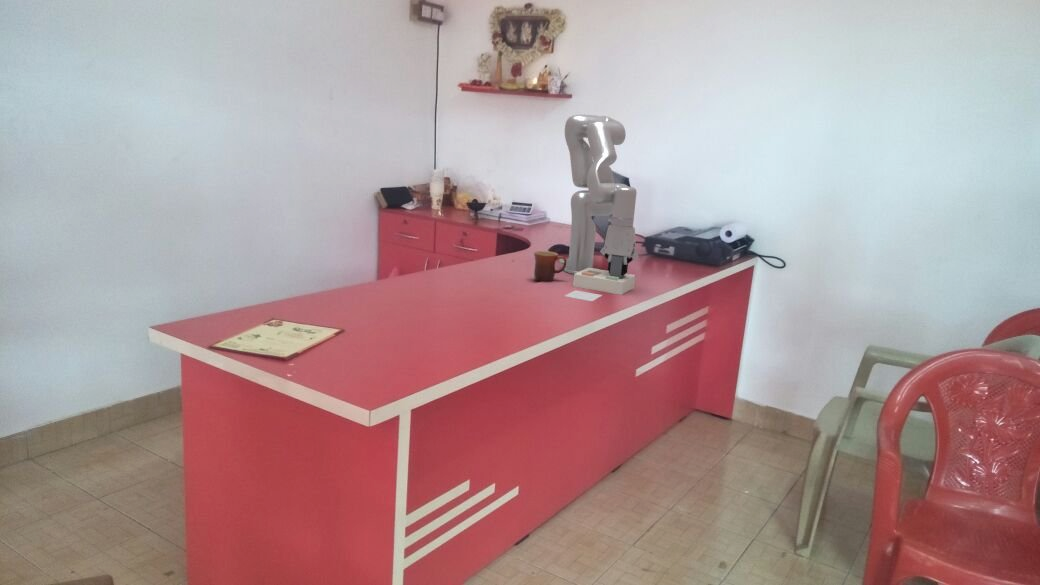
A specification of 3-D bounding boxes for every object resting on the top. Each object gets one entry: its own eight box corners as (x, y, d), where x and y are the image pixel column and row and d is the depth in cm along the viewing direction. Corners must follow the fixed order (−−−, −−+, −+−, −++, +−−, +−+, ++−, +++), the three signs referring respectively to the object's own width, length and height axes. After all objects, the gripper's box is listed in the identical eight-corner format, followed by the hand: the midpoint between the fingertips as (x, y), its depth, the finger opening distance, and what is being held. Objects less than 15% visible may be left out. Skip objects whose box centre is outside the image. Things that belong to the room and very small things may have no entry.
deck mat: (563, 297, 237) (563, 296, 237) (575, 291, 246) (575, 290, 246) (591, 303, 233) (591, 301, 233) (602, 296, 242) (602, 295, 242)
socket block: (572, 287, 252) (574, 271, 250) (587, 280, 264) (588, 265, 262) (621, 296, 244) (622, 280, 243) (633, 288, 256) (635, 273, 255)
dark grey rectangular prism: (608, 283, 250) (611, 255, 248) (612, 281, 254) (615, 253, 251) (619, 285, 249) (622, 257, 246) (623, 282, 252) (626, 255, 250)
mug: (530, 282, 255) (532, 254, 253) (532, 277, 264) (534, 250, 261) (564, 285, 254) (566, 257, 252) (565, 280, 263) (567, 252, 260)
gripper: (595, 220, 246) (591, 272, 251) (642, 226, 239) (636, 279, 244) (603, 218, 253) (598, 268, 257) (648, 224, 246) (643, 275, 250)
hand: (617, 273), depth 251 cm, fingers closed on dark grey rectangular prism, 3 cm apart
